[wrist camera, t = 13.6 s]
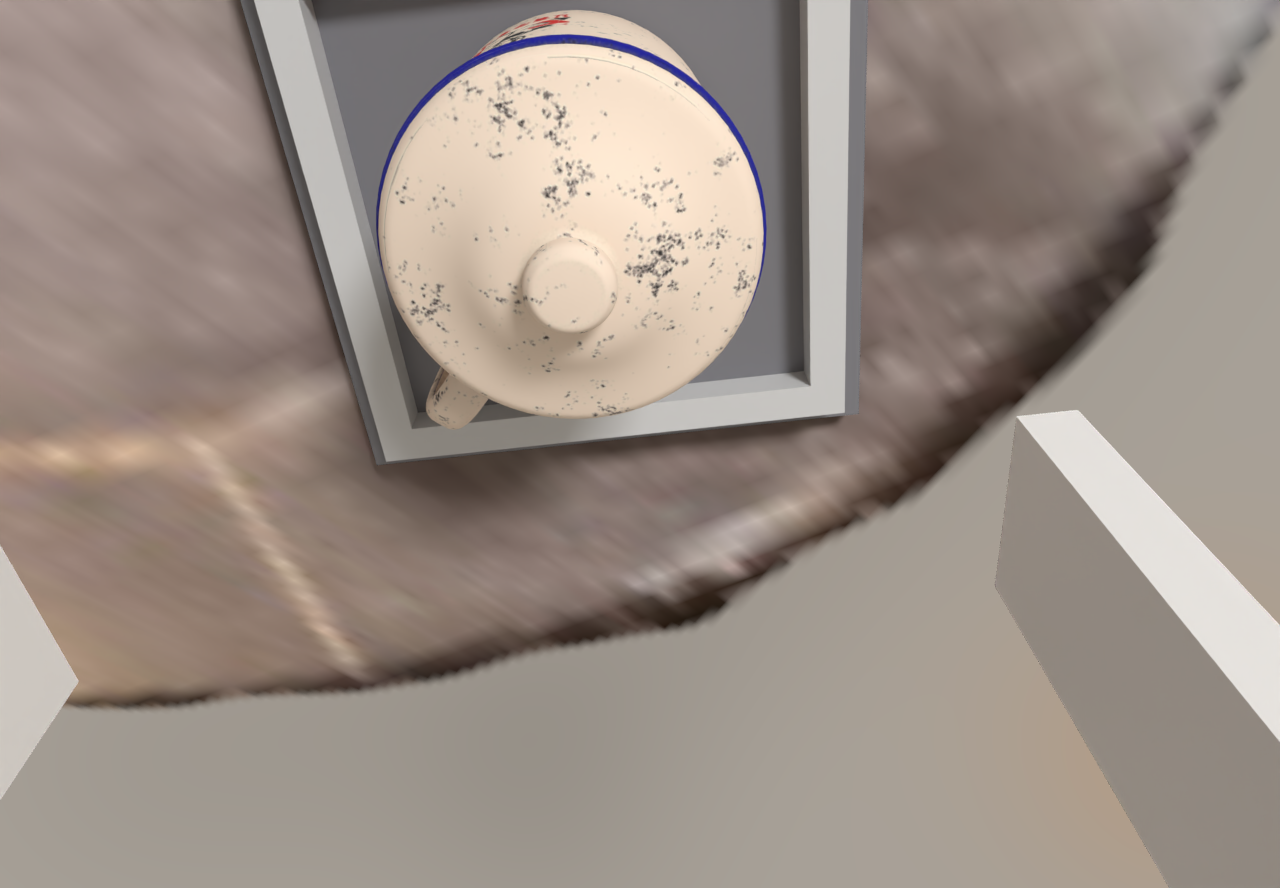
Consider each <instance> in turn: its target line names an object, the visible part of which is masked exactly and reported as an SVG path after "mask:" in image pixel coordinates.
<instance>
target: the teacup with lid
mask: <svg viewBox="0 0 1280 888" xmlns="http://www.w3.org/2000/svg"><path fill="white" fill-rule="evenodd" d="M766 232H767V225H766V210H765V203H764V197H763V191H762V187H761V183H760V180H759V176H758V172H757V169H756V167H755V164H754V162H753V159H752V156H751V154H750V152H749V150H748V148H747V146H746V144H745V142H744V140H743V138H742V136H741V134H740V133H739V131H738V129H737V128H736V126H735V125H734V123H733V122H732V120H731V119H730V117H729V116H728V115H727V113H726V112H725V111H724V110H723V108H722V107H721V106H720V105H719V103H718V102H717V101H716V100H715V99H714V98H713V97H712V96H711V95H710V94H709V93H708V92H707V91H706V90H705V89H704V88H703V87H702V86H701V85H700V83H699V82H698V80H697V79H696V77H695V75H694V74H693V72H692V71H691V69H690V68H689V67H688V66H687V64H686V63H685V62H684V61H683V59H682V58H681V57H680V56H679V55H678V54H677V53H676V52H675V51H674V50H673V49H672V48H671V47H670V46H668V45H667V44H666V43H665V42H664V41H662V40H661V39H660V38H659V37H657V36H656V35H654V34H653V33H651V32H650V31H648V30H646V29H645V28H643V27H641V26H639V25H637V24H635V23H633V22H630V21H628V20H625V19H623V18H620V17H617V16H613V15H610V14H606V13H600V12H595V11H584V10H566V11H557V12H550V13H545V14H542V15H538V16H534V17H531V18H529V19H526V20H524V21H521V22H519V23H517V24H515V25H513V26H511V27H509V28H507V29H506V30H504V31H503V32H501V33H500V34H498V35H497V36H495V37H494V38H493V39H491V40H490V41H489V42H488V43H487V44H485V45H484V46H483V47H482V48H481V49H480V50H479V51H478V52H477V53H476V54H475V55H474V56H473V57H472V59H470V60H468V61H467V62H465V63H464V64H462V65H461V66H459V67H458V68H456V69H455V70H453V71H452V72H450V73H449V74H448V75H447V76H445V77H444V78H443V79H442V80H441V81H439V82H438V83H437V84H436V85H435V86H434V87H433V88H432V89H431V90H430V91H429V92H428V93H427V94H426V95H425V96H424V97H423V98H422V99H421V100H420V101H419V103H418V104H417V105H416V107H415V108H414V109H413V111H412V112H411V113H410V114H409V116H408V117H407V119H406V121H405V122H404V124H403V125H402V127H401V129H400V130H399V132H398V134H397V136H396V138H395V140H394V142H393V144H392V147H391V149H390V151H389V154H388V157H387V160H386V162H385V165H384V168H383V172H382V176H381V181H380V185H379V190H378V198H377V206H376V233H377V245H378V251H379V256H380V261H381V266H382V269H383V273H384V276H385V280H386V283H387V285H388V288H389V290H390V293H391V295H392V298H393V300H394V302H395V305H396V307H397V308H398V310H399V312H400V314H401V316H402V318H403V320H404V322H405V323H406V325H407V326H408V328H409V329H410V331H411V333H412V334H413V336H414V337H415V338H416V339H417V341H418V342H419V343H420V345H421V346H422V347H423V348H424V350H425V351H426V352H427V353H428V354H429V355H430V356H431V357H432V358H433V359H434V360H435V361H436V362H437V363H438V364H439V365H440V366H441V367H440V369H439V371H438V373H437V375H436V378H435V380H434V382H433V385H432V387H431V389H430V392H429V395H428V398H427V402H426V412H427V414H428V416H429V417H430V418H431V419H432V420H433V421H435V422H437V423H438V424H440V425H442V426H444V427H446V428H448V429H452V430H456V429H460V428H462V427H464V426H465V425H467V424H468V423H469V422H470V421H471V420H472V419H473V418H474V417H475V416H476V415H477V414H478V412H479V411H480V410H481V408H482V407H483V406H484V404H485V403H486V401H487V400H488V399H490V400H492V401H494V402H497V403H499V404H502V405H504V406H507V407H509V408H513V409H516V410H519V411H522V412H526V413H530V414H535V415H540V416H545V417H553V418H565V419H586V418H598V417H606V416H612V415H616V414H621V413H625V412H629V411H632V410H635V409H638V408H642V407H644V406H647V405H649V404H651V403H654V402H656V401H659V400H661V399H662V398H664V397H666V396H668V395H670V394H672V393H674V392H675V391H677V390H678V389H680V388H681V387H683V386H684V385H686V384H688V383H689V382H690V381H691V380H693V379H694V378H695V377H696V376H698V375H699V374H700V373H701V372H703V371H704V370H705V369H706V368H707V367H708V366H709V365H710V364H711V363H712V362H713V361H714V360H715V359H716V358H717V356H718V355H719V354H720V353H721V352H722V351H723V350H724V348H725V347H726V346H727V344H728V343H729V341H730V340H731V339H732V337H733V336H734V334H735V333H736V331H737V330H738V328H739V326H740V325H741V323H742V321H743V319H744V318H745V316H746V314H747V312H748V310H749V308H750V305H751V303H752V301H753V299H754V296H755V293H756V290H757V287H758V284H759V281H760V277H761V273H762V269H763V264H764V257H765V250H766Z"/></svg>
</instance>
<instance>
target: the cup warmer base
mask: <svg viewBox="0 0 1280 888" xmlns="http://www.w3.org/2000/svg"><path fill="white" fill-rule="evenodd" d="M240 1H241V4H242V8H243V11H244V15H245V18H246V21H247V25H248V28H249V32H250V35H251V38H252V42H253V45H254V49H255V52H256V55H257V59H258V62H259V66H260V69H261V73H262V76H263V79H264V83H265V86H266V90H267V93H268V96H269V100H270V103H271V107H272V110H273V113H274V117H275V120H276V124H277V127H278V130H279V134H280V137H281V141H282V144H283V147H284V151H285V154H286V158H287V161H288V164H289V168H290V171H291V175H292V178H293V181H294V185H295V188H296V192H297V195H298V198H299V202H300V205H301V209H302V212H303V215H304V219H305V222H306V226H307V229H308V233H309V236H310V239H311V243H312V246H313V250H314V253H315V256H316V260H317V263H318V267H319V270H320V273H321V277H322V280H323V284H324V287H325V290H326V294H327V297H328V301H329V304H330V307H331V311H332V314H333V318H334V321H335V324H336V328H337V331H338V335H339V338H340V341H341V345H342V348H343V352H344V355H345V358H346V362H347V365H348V369H349V372H350V376H351V379H352V382H353V386H354V389H355V393H356V396H357V399H358V403H359V406H360V410H361V413H362V416H363V420H364V423H365V427H366V430H367V433H368V437H369V440H370V444H371V447H372V450H373V454H374V457H375V461H376V464H377V465H384V464H393V463H402V462H412V461H421V460H431V459H440V458H449V457H459V456H468V455H477V454H487V453H496V452H506V451H515V450H524V449H534V448H543V447H553V446H562V445H571V444H581V443H590V442H599V441H609V440H618V439H628V438H637V437H646V436H656V435H665V434H675V433H684V432H693V431H703V430H712V429H721V428H731V427H740V426H750V425H759V424H768V423H778V422H787V421H796V420H806V419H815V418H825V417H834V416H843V415H853V414H859V375H860V331H861V287H862V242H863V198H864V154H865V109H866V65H867V21H868V0H240ZM566 10H584V11H595V12H600V13H606V14H610V15H613V16H617V17H620V18H623V19H625V20H628V21H630V22H633V23H635V24H637V25H639V26H641V27H643V28H645V29H646V30H648V31H650V32H651V33H653V34H654V35H656V36H657V37H659V38H660V39H661V40H662V41H664V42H665V43H666V44H667V45H668V46H670V47H671V48H672V49H673V50H674V51H675V52H676V53H677V54H678V55H679V56H680V57H681V58H682V59H683V61H684V62H685V63H686V64H687V66H688V67H689V68H690V69H691V71H692V72H693V74H694V75H695V77H696V79H697V80H698V82H699V83H700V85H701V86H702V87H703V88H704V89H705V90H706V91H707V92H708V93H709V94H710V95H711V96H712V97H713V98H714V99H715V100H716V101H717V102H718V103H719V105H720V106H721V107H722V108H723V110H724V111H725V112H726V113H727V115H728V116H729V117H730V119H731V120H732V122H733V123H734V125H735V126H736V128H737V129H738V131H739V133H740V134H741V136H742V138H743V140H744V142H745V144H746V146H747V148H748V150H749V152H750V154H751V156H752V159H753V162H754V164H755V167H756V169H757V172H758V176H759V180H760V183H761V187H762V191H763V197H764V203H765V210H766V225H767V232H766V250H765V257H764V264H763V269H762V273H761V277H760V281H759V284H758V287H757V290H756V293H755V296H754V299H753V301H752V303H751V305H750V308H749V310H748V312H747V314H746V316H745V318H744V319H743V321H742V323H741V325H740V326H739V328H738V330H737V331H736V333H735V334H734V336H733V337H732V339H731V340H730V341H729V343H728V344H727V346H726V347H725V348H724V350H723V351H722V352H721V353H720V354H719V355H718V356H717V358H716V359H715V360H714V361H713V362H712V363H711V364H710V365H709V366H708V367H707V368H706V369H705V370H704V371H703V372H701V373H700V374H699V375H698V376H696V377H695V378H694V379H693V380H691V381H690V382H689V383H688V384H686V385H684V386H683V387H681V388H680V389H678V390H677V391H675V392H674V393H672V394H670V395H668V396H666V397H664V398H662V399H661V400H659V401H656V402H654V403H651V404H649V405H647V406H644V407H642V408H638V409H635V410H632V411H629V412H625V413H621V414H616V415H612V416H606V417H598V418H586V419H565V418H553V417H545V416H540V415H535V414H530V413H526V412H522V411H519V410H516V409H513V408H509V407H507V406H504V405H502V404H499V403H497V402H494V401H492V400H490V399H488V400H487V401H486V403H485V404H484V406H483V407H482V408H481V410H480V411H479V412H478V414H477V415H476V416H475V417H474V418H473V419H472V420H471V421H470V422H469V423H468V424H467V425H465V426H464V427H462V428H460V429H456V430H452V429H448V428H446V427H444V426H442V425H440V424H438V423H437V422H435V421H433V420H432V419H431V418H430V417H429V416H428V414H427V412H426V402H427V398H428V395H429V392H430V389H431V387H432V385H433V382H434V380H435V378H436V375H437V373H438V371H439V369H440V367H441V366H440V365H439V364H438V363H437V362H436V361H435V360H434V359H433V358H432V357H431V356H430V355H429V354H428V353H427V352H426V351H425V350H424V348H423V347H422V346H421V345H420V343H419V342H418V341H417V339H416V338H415V337H414V336H413V334H412V333H411V331H410V329H409V328H408V326H407V325H406V323H405V322H404V320H403V318H402V316H401V314H400V312H399V310H398V308H397V307H396V305H395V302H394V300H393V298H392V295H391V293H390V290H389V288H388V285H387V283H386V280H385V276H384V273H383V269H382V266H381V261H380V256H379V251H378V245H377V233H376V206H377V198H378V190H379V185H380V181H381V176H382V172H383V168H384V165H385V162H386V160H387V157H388V154H389V151H390V149H391V147H392V144H393V142H394V140H395V138H396V136H397V134H398V132H399V130H400V129H401V127H402V125H403V124H404V122H405V121H406V119H407V117H408V116H409V114H410V113H411V112H412V111H413V109H414V108H415V107H416V105H417V104H418V103H419V101H420V100H421V99H422V98H423V97H424V96H425V95H426V94H427V93H428V92H429V91H430V90H431V89H432V88H433V87H434V86H435V85H436V84H437V83H438V82H439V81H441V80H442V79H443V78H444V77H445V76H447V75H448V74H449V73H450V72H452V71H453V70H455V69H456V68H458V67H459V66H461V65H462V64H464V63H465V62H467V61H468V60H470V59H472V57H473V56H474V55H475V54H476V53H477V52H478V51H479V50H480V49H481V48H482V47H483V46H484V45H485V44H487V43H488V42H489V41H490V40H491V39H493V38H494V37H495V36H497V35H498V34H500V33H501V32H503V31H504V30H506V29H507V28H509V27H511V26H513V25H515V24H517V23H519V22H521V21H524V20H526V19H529V18H531V17H534V16H538V15H542V14H545V13H550V12H557V11H566Z"/></svg>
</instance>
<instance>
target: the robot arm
mask: <svg viewBox="0 0 1280 888" xmlns="http://www.w3.org/2000/svg"><path fill="white" fill-rule="evenodd" d="M995 587H996V589H997V591H998V593H999V594H1000V596H1001V598H1002V600H1003V601H1004V603H1005V605H1006V606H1007V608H1008V610H1009V612H1010V613H1011V615H1012V617H1013V618H1014V620H1015V622H1016V624H1017V625H1018V627H1019V629H1020V630H1021V632H1022V634H1023V636H1024V638H1025V639H1026V641H1027V643H1028V644H1029V646H1030V648H1031V650H1032V651H1033V653H1034V655H1035V656H1036V658H1037V660H1038V662H1039V664H1040V665H1041V667H1042V669H1043V670H1044V672H1045V674H1046V676H1047V677H1048V679H1049V681H1050V683H1051V684H1052V686H1053V688H1054V690H1055V691H1056V693H1057V695H1058V696H1059V698H1060V700H1061V702H1062V703H1063V705H1064V707H1065V708H1066V710H1067V712H1068V714H1069V715H1070V717H1071V719H1072V720H1073V722H1074V724H1075V726H1076V727H1077V729H1078V731H1079V733H1080V734H1081V736H1082V738H1083V740H1084V741H1085V743H1086V745H1087V747H1088V748H1089V750H1090V752H1091V754H1092V755H1093V757H1094V759H1095V760H1096V762H1097V764H1098V766H1099V767H1100V769H1101V771H1102V772H1103V774H1104V776H1105V778H1106V779H1107V781H1108V783H1109V785H1110V786H1111V788H1112V790H1113V792H1114V793H1115V795H1116V797H1117V798H1118V800H1119V802H1120V804H1121V805H1122V807H1123V809H1124V811H1125V812H1126V814H1127V816H1128V818H1129V819H1130V821H1131V822H1132V824H1133V826H1134V828H1135V830H1136V831H1137V833H1138V835H1139V837H1140V838H1141V840H1142V842H1143V843H1144V845H1145V847H1146V849H1147V850H1148V852H1149V854H1150V856H1151V857H1152V859H1153V861H1154V863H1155V864H1156V866H1157V868H1158V869H1159V871H1160V873H1161V875H1162V876H1163V878H1164V880H1165V881H1166V883H1167V885H1168V887H1169V888H1280V625H1279V624H1278V623H1277V622H1276V621H1275V620H1274V619H1273V618H1272V616H1271V615H1270V614H1269V613H1268V612H1267V611H1266V610H1265V609H1264V608H1263V607H1262V606H1261V605H1260V604H1259V603H1258V602H1257V600H1255V598H1254V597H1253V596H1252V595H1251V594H1250V593H1249V592H1248V591H1247V590H1246V589H1245V588H1244V587H1243V586H1242V584H1241V583H1239V581H1238V580H1237V579H1236V578H1235V577H1234V576H1233V575H1232V574H1231V573H1230V572H1229V571H1228V570H1227V569H1226V568H1225V566H1224V565H1223V564H1222V563H1221V562H1220V561H1219V560H1218V559H1217V558H1216V557H1215V556H1214V555H1213V554H1212V553H1211V551H1210V550H1209V549H1208V548H1207V547H1206V546H1205V545H1204V544H1203V543H1202V542H1201V541H1200V540H1199V539H1198V538H1197V537H1196V536H1195V534H1194V533H1192V531H1191V530H1190V529H1189V528H1188V527H1187V526H1186V525H1185V524H1184V523H1183V522H1182V521H1181V520H1180V518H1179V517H1177V515H1176V514H1175V513H1174V512H1173V511H1172V510H1171V509H1170V508H1169V507H1168V506H1167V505H1166V504H1165V502H1163V500H1162V499H1161V498H1160V497H1159V496H1158V495H1157V494H1156V493H1155V492H1154V491H1153V490H1152V489H1151V488H1150V487H1149V486H1148V485H1147V483H1146V482H1145V481H1144V480H1143V479H1142V478H1141V477H1140V476H1139V475H1138V474H1137V473H1136V472H1135V471H1134V469H1133V468H1132V467H1131V466H1130V465H1129V464H1128V463H1127V462H1126V461H1125V460H1124V459H1123V458H1122V457H1121V456H1120V455H1119V453H1118V452H1117V451H1116V450H1115V449H1114V448H1113V447H1112V446H1111V445H1110V444H1109V443H1108V442H1107V441H1106V440H1105V439H1104V438H1103V437H1102V435H1101V434H1100V433H1099V432H1098V431H1097V430H1096V429H1095V428H1094V427H1093V426H1092V425H1091V424H1090V423H1089V422H1088V421H1087V419H1086V418H1085V417H1084V416H1083V415H1082V414H1081V413H1080V412H1079V411H1078V410H1072V411H1063V412H1053V413H1044V414H1035V415H1026V416H1017V417H1016V424H1015V432H1014V440H1013V448H1012V455H1011V464H1010V471H1009V479H1008V487H1007V495H1006V503H1005V510H1004V518H1003V526H1002V534H1001V541H1000V550H999V558H998V565H997V574H996V581H995ZM78 682H79V681H78V679H77V677H76V676H75V674H74V672H73V671H72V669H71V667H70V665H69V664H68V662H67V660H66V658H65V657H64V655H63V653H62V651H61V650H60V648H59V646H58V644H57V643H56V641H55V639H54V638H53V636H52V634H51V632H50V631H49V629H48V627H47V625H46V624H45V622H44V620H43V618H42V617H41V615H40V613H39V612H38V610H37V608H36V606H35V605H34V603H33V601H32V599H31V598H30V596H29V594H28V592H27V591H26V589H25V587H24V585H23V584H22V582H21V580H20V579H19V577H18V575H17V573H16V572H15V570H14V568H13V566H12V565H11V563H10V561H9V559H8V558H7V556H6V554H5V553H4V551H3V549H2V547H1V546H0V800H1V798H2V797H3V795H4V794H5V792H6V791H7V789H8V788H9V786H10V785H11V783H12V782H13V780H14V779H15V777H16V776H17V774H18V773H19V771H20V769H21V768H22V767H23V765H24V763H25V762H26V760H27V759H28V757H29V756H30V754H31V753H32V751H33V750H34V748H35V747H36V745H37V744H38V742H39V741H40V739H41V738H42V736H43V735H44V733H45V732H46V730H47V729H48V727H49V726H50V724H51V723H52V721H53V720H54V718H55V717H56V715H57V714H58V712H59V711H60V709H61V708H62V706H63V705H64V703H65V702H66V700H67V698H68V697H69V695H70V694H71V692H72V691H73V689H74V688H75V686H76V685H77V683H78Z"/></svg>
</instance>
